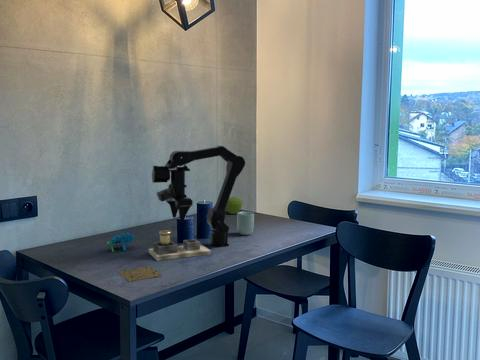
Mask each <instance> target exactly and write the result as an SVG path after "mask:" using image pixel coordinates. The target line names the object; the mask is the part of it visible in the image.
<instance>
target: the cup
mask: <svg viewBox="0 0 480 360" xmlns="http://www.w3.org/2000/svg"><path fill="white" fill-rule="evenodd" d="M236 214H237V215H236V226H237V232H238V233H239V234H240V235H242V236H249V235H252V233H253V231H254V227H255V213H254V212H253V211H239V212H238V213H236Z"/></svg>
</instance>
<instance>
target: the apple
mask: <svg viewBox="0 0 480 360" xmlns="http://www.w3.org/2000/svg"><path fill="white" fill-rule="evenodd" d="M242 207H243V200H242V199H241V198H239V197H236V196H235V197H234V196H231V197H229V200H228V203H227V205H226V208H225V212H227V213H228V214H230V215H236V214H237V213H238V212H241V211H240V210H241V209H242Z"/></svg>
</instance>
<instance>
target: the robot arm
mask: <svg viewBox="0 0 480 360" xmlns="http://www.w3.org/2000/svg"><path fill="white" fill-rule="evenodd" d="M213 157H221V158H222V159H223V160H224V161H225V162H226V170H225V171H226V173H225V178H224V180H223V183H222V186H221V188H220V190H219V195H218V197H217V199H216V202H215V205H214V206H213V207H212V208H211V207H208V208H209V209H208V211H207V214H206V215H205V217H206V223H207V224H208V225H209V226H210V227H211V228H210V229H211V233H210V235H209V236H210V242H209V244H210V245H212V246H213V247H215V248H219V247H228V246H230V243H228V240H229V239H228V238H229V236H228V235H229V234H228V233H229V231H230V227H229V226H228V225H227V224H226V222H225V220H226V209H225V208H226V205H227V203H228V200H229V197H230V196H231V194H232V190H233V188H234V185H235V183H236V180H237V178H238V176H240V174H241V173H242V171H243V169H244V167H245V166H246V160H245V157H243V156H241V155H236V154H235V153H234V152H232V151H231V150H229V149H227V148H226V147H225V146H223V145H217V146H214V147H213V146H212V147H207V148H202V149H197V150H174V151H172V152H171V153H170V155H169V159H168V160H167V161H166V163H165V164H164V165H153V166H152V171H151V181H152V183H153V184H154V183H156V184H157V183H158V184H159V183H161V184H162V183H168V181H170V183H169V185H168V188H164V189H162V190H159V191H157V192H156V196H157V198H158V200H159V201H160V202H166V203H167V204H168V205H169V207H170V211H171V216H172V218H173V219H175V218H176V217H177V215H178V216H179V217H178V218H179V221H180V223H183V222H184V220H185V218H186V216H187V214H188V212H189V210H190V208H191V207H192V206H193V205H194V204H193V199H191V198H190V197H188V196H187V194H186V188H187V184H186V172H191V169H190V168H189V167H188V166H187V165H188V164H189V163H191V162H194V161H198V160H204V159H209V158H213Z"/></svg>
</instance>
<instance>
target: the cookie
mask: <svg viewBox="0 0 480 360" xmlns="http://www.w3.org/2000/svg"><path fill="white" fill-rule="evenodd" d="M118 273H119V274H120V275H121V276H122V277H123V278H124V279H125V280H126V281H127V282H128V283H130V282H131V283H132V282H139V281H143V280H151V279H156V278H161V277H163V275H162V274H161V273H159V272H158V271H157V270H155V269H154V268H153V267H151V266H142V267H138V268H133V269H124V270H120V271H118Z"/></svg>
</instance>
